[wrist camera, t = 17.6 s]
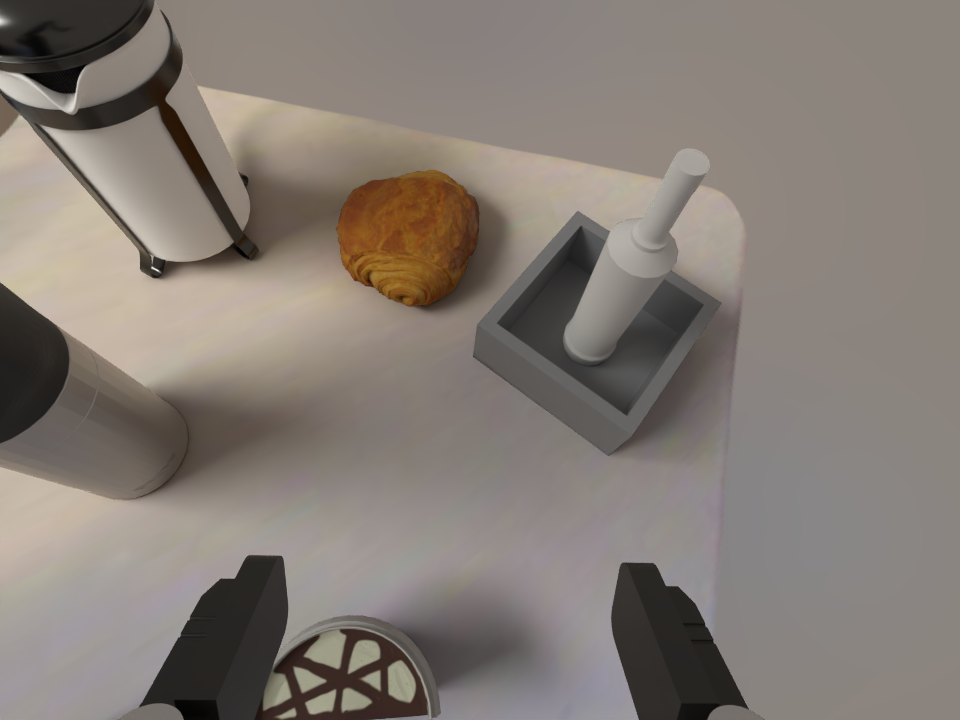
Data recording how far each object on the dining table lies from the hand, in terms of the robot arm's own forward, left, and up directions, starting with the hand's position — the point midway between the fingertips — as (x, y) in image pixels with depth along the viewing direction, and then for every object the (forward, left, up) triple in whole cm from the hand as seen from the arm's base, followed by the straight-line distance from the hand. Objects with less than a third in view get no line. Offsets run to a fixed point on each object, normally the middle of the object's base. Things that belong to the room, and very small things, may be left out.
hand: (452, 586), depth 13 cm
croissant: (-25, +24, -36) cm, 50 cm away
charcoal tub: (-3, +26, -36) cm, 45 cm away
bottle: (-3, +26, -35) cm, 44 cm away
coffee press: (-44, +12, -36) cm, 59 cm away
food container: (-2, -8, -36) cm, 37 cm away
